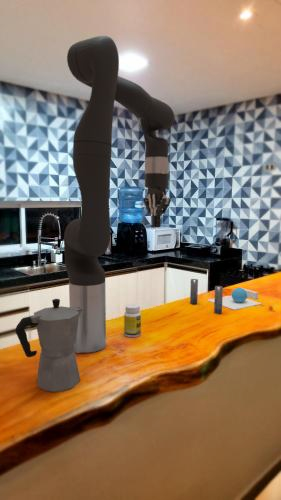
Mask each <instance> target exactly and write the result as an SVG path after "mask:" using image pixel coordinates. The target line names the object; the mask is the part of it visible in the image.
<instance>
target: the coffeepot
mask: <svg viewBox="0 0 281 500" xmlns="http://www.w3.org/2000/svg"><path fill="white" fill-rule="evenodd" d="M51 301H52V306H51V307H45V308H42V309H40V310H37V311H34V312H33V315H28V316H25V317H22V318H21V319H20V320H19V322H18V324H17V325H16V327H15V334H16V337H17V339H18V340H19V341H18V342H19V343H20V345H21V348H22V350H23V352H24V355H25V356H26V358H32V357H35V356H36V355H37V354H38V351H37V350H33V351H32V350H31V344H30V342H29V340H28V336H27V333H26V330H25V329H26V328H27V327H34V326H36V331H37V336H38V341H39V342H38V343H39V346H40V348H41V350H40V351H41V352H40V353H39V361H38V368H37V375H36V382H37V383H38V384H37V387H38V388H39V389H40V390H42V391H44V392H49V393H50V392H51V393H58V392H60V393H61V392H64V391H68V390H71V389H72V388H74V387H75V386H77V385H78V383H79V382H80V381H81V378H80V377H81V376H80V371H79V366H78V361H77V355H76V352H75V351H74V344H75V343H76V335H77V328H78V320H79V316H80V314H81V312H82V311H83V310H84V309H82V308H80V307H70V306H60V303H61V300H60V299H59V298H54V299H52V300H51Z"/></svg>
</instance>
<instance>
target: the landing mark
mask: <svg viewBox="0 0 281 500" xmlns="http://www.w3.org/2000/svg"><path fill="white" fill-rule="evenodd" d="M214 300H215V298H210V299H206V301H208V302H210V303H213V304H214ZM258 305H259V306H261V305H263V303H261V302H257V301H255V300H253V299H250V298H246V300H245V301H244V302H241V303H238V302H235V301H234V300H233V298H232V294H231V295H226V296H223V298H222V307H224V308H228V309H230V310H232V311H233V310H234V311H236V310H241V309H246V308H251V307H255V306H258Z"/></svg>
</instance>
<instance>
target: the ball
mask: <svg viewBox="0 0 281 500" xmlns="http://www.w3.org/2000/svg"><path fill="white" fill-rule="evenodd" d="M242 288H243V287H237V288H234V289H233V291H232V292H231V295H232V298H233V300H234V301H235V302H238V303H241V302H244V301H245V300H246V299H248V297H247V293H246V291H245V290H244V289H245V288H244V289H242Z"/></svg>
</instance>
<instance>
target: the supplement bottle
mask: <svg viewBox="0 0 281 500" xmlns="http://www.w3.org/2000/svg"><path fill="white" fill-rule="evenodd" d="M140 307H141V306H140V305H139V304H136V303H130V304H126V305H125V308H124V309H125V312H124V316H123V319H124V320H123V322H124V324H123V325H124V327H123V328H124V329H123V332H124V337H125V336H126V337H128V338H137V337H140V336H141V334H142V333H141V331H142V330H141V329H142V326H141V325H142V321H141V320H142V319H141V318H142V313H141V312H140V310H141V308H140Z"/></svg>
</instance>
